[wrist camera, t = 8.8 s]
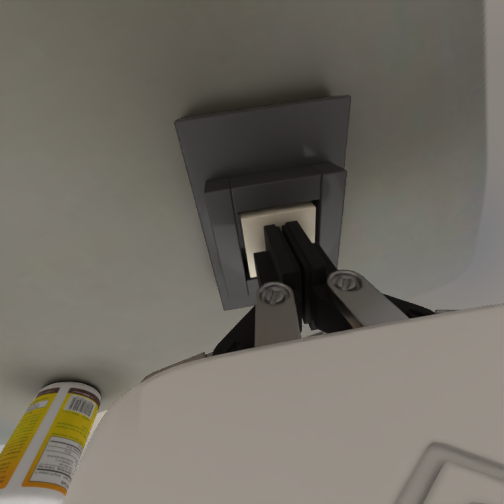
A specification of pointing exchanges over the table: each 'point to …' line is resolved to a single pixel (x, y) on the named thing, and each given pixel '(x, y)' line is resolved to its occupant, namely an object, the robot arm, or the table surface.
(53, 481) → the supplement bottle
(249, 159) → the stepped wall plate
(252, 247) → the key
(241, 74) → the table surface
